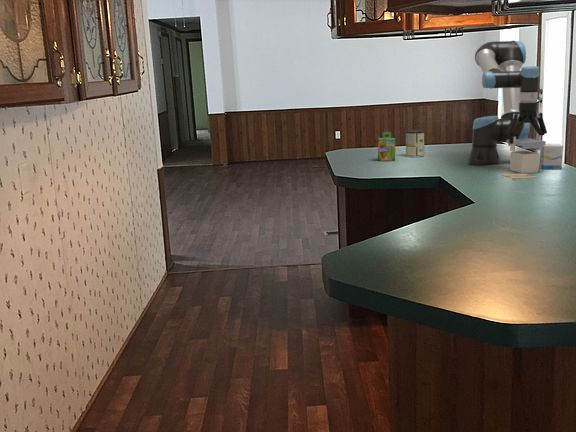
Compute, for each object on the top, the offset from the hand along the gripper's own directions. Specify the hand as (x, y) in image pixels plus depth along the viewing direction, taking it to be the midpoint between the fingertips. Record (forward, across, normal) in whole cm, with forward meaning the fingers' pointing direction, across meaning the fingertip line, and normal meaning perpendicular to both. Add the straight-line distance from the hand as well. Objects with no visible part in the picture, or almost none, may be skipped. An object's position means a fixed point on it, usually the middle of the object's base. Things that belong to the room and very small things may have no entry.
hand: (525, 150), depth 284 cm
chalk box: (+10, -44, +60) cm, 75 cm away
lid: (-3, 0, 0) cm, 3 cm away
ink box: (+10, +15, +3) cm, 19 cm away
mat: (+10, -10, -12) cm, 19 cm away
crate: (+10, 0, 0) cm, 10 cm away
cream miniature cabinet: (+11, -24, +69) cm, 73 cm away
